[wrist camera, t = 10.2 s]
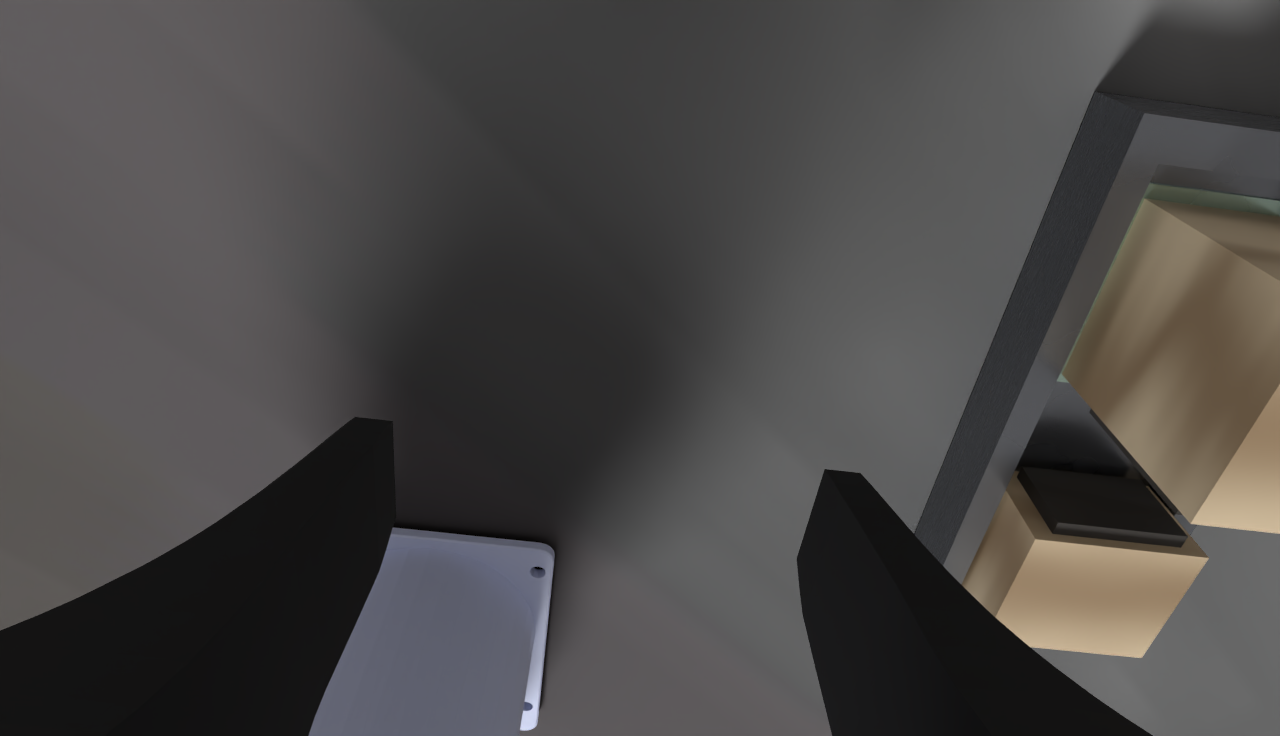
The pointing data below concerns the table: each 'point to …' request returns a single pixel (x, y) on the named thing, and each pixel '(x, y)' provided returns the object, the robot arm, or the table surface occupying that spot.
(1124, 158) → the grey rectangular tray
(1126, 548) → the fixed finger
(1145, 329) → the tan wooden block
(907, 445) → the table surface
